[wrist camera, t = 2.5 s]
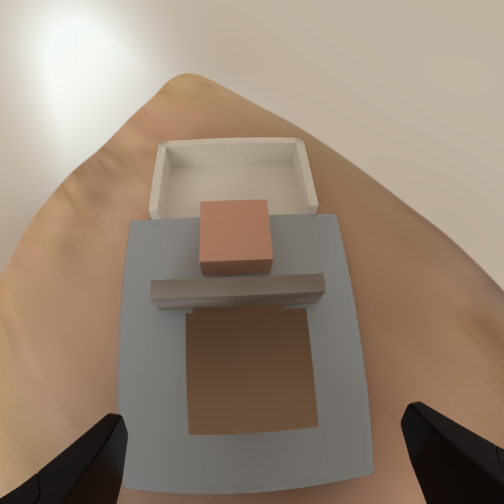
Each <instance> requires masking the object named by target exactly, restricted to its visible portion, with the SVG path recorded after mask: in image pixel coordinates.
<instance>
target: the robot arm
mask: <svg viewBox="0 0 504 504" xmlns="http://www.w3.org/2000/svg"><path fill="white" fill-rule="evenodd" d="M401 428H402V431H403V435H404V439H405V442H406V446H407V450H408V453H409V457H410V461H411V463H412V466H413V469H414V471H415V474H416V477H417V479H418V482H419V484H420V487H421V490H422V492H423V495H424V498H425V500H426V503H427V504H504V449H502V448H500V447H499V446H495V444H493V443H491V442H489V441H488V440H486V439H484V438H482V437H480V436H479V435H477V434H475V433H473V432H472V431H470V430H468V429H466V428H465V427H463V426H461V425H459V424H458V423H456V422H454V421H453V420H451V419H449V418H447V417H446V416H444V415H442V414H441V413H439V412H437V411H435V410H434V409H432V408H430V407H429V406H427V405H425V404H424V403H422V402H414V403H410V404H409V405H408V406H407V408H406V410H405V413H404V415H403V417H402V420H401ZM127 442H128V431H127V428H126V425H125V422H124V419H123V417H122V415H120V414H114V413H109V414H107V415H106V416H105V417H103V418H102V419H101V420H100V421H99V422H98V423H96V424H95V425H94V426H93V427H92V428H90V429H89V430H88V431H87V432H86V433H85V434H83V435H82V436H81V437H80V438H79V439H77V440H76V441H75V442H74V443H73V444H71V445H70V446H69V447H68V448H67V449H65V450H64V451H63V452H62V453H61V454H59V455H58V456H57V457H56V458H54V459H53V460H52V461H51V462H50V463H48V464H47V465H46V466H45V467H43V468H42V469H41V470H40V471H38V474H35V475H33V476H32V477H31V478H30V479H28V480H27V481H26V482H24V483H23V484H22V485H20V486H19V487H18V488H16V489H15V490H13V491H11V492H10V493H8V494H7V495H5V496H3V497H2V498H0V504H117V500H118V495H119V491H120V487H121V483H122V479H123V473H124V465H125V457H126V449H127Z"/></svg>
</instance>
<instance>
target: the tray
mask: <svg viewBox="0 0 504 504" xmlns="http://www.w3.org/2000/svg"><path fill="white" fill-rule="evenodd" d="M261 199H267V205H268V214H269V215H288V214H316V211H317V208H318V206H319V205H318V201H317V196H316V192H315V187H314V183H313V178H312V174H311V170H310V166H309V161H308V157H307V153H306V149H305V145H304V141H303V138H279V137H252V138H214V139H194V140H178V141H165V142H159V146H158V152H157V158H156V163H155V169H154V176H153V182H152V189H151V196H150V203H149V210H148V212H149V214H150V217H151V219H152V220H155V219H174V218H195V217H200V202H202V201H227V200H261Z"/></svg>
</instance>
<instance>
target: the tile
mask: <svg viewBox="0 0 504 504" xmlns="http://www.w3.org/2000/svg"><path fill="white" fill-rule="evenodd" d="M199 262H200V266H201V271H202V275H203V276H224V275H249V274H270V271H271V267H272V263H273V251H272V241H271V232H270V223H269V214H268V205H267V199H261V200H227V201H202V202H200V248H199Z"/></svg>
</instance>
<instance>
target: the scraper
mask: <svg viewBox="0 0 504 504" xmlns="http://www.w3.org/2000/svg"><path fill="white" fill-rule="evenodd" d="M325 292H326V286H325V280H324V274H323V273H316V274H297V275H276V276H254V277H229V278H202V279H170V280H151V287H150V299H151V300H152V302H153V303H154V304H155V306H156V307H157V309H158V310H187V309H193V313H186V383H187V409H188V429H189V435H227V434H249V433H263V432H275V431H285V430H294V429H302V428H310V427H317V426H318V414H317V403H316V393H315V382H314V373H313V363H312V354H311V345H310V336H309V328H308V320H307V312H306V308H296V309H284V305H298V304H313V303H318V302H319V300H320V299H321V297H322V296H323V295H324V293H325Z"/></svg>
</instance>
